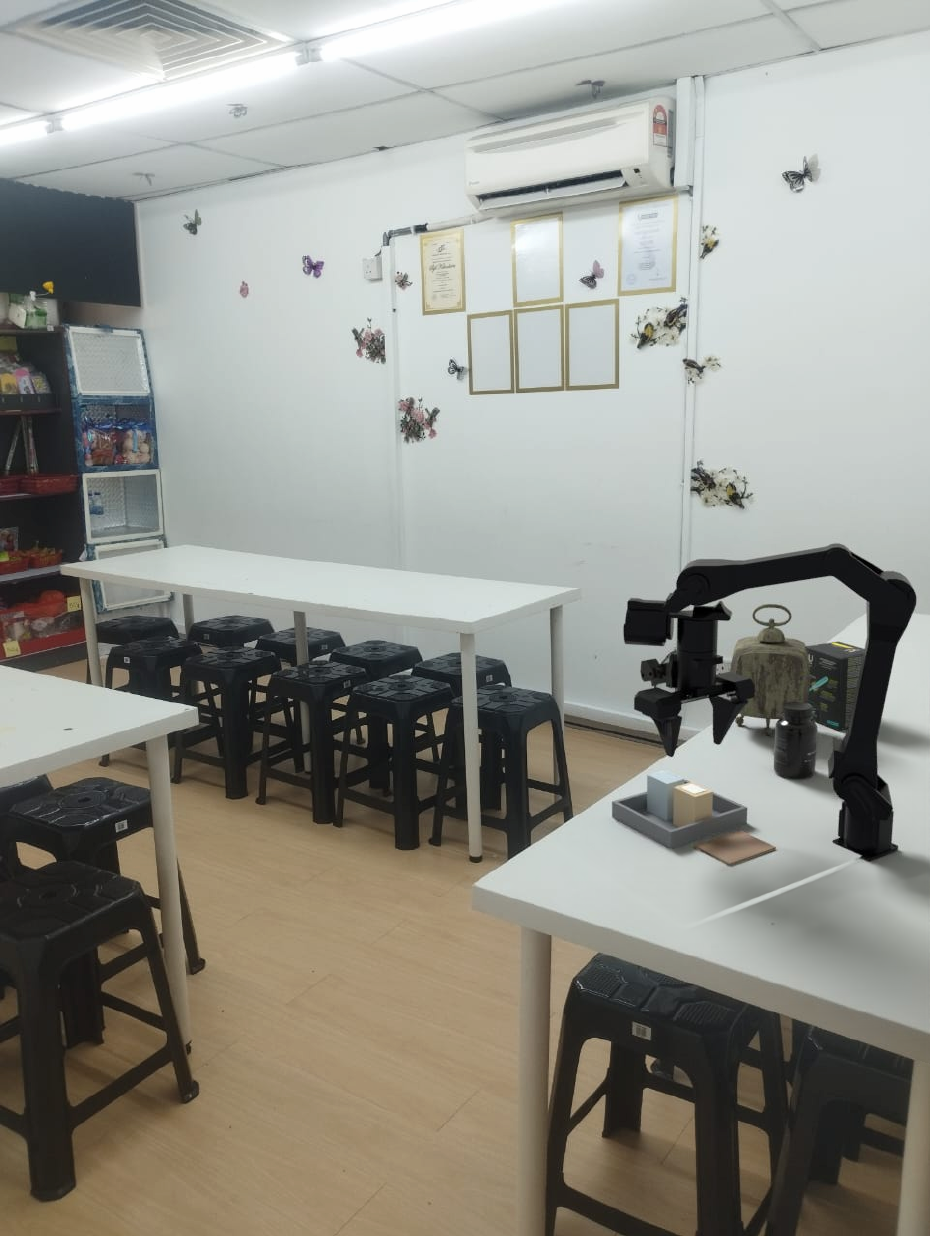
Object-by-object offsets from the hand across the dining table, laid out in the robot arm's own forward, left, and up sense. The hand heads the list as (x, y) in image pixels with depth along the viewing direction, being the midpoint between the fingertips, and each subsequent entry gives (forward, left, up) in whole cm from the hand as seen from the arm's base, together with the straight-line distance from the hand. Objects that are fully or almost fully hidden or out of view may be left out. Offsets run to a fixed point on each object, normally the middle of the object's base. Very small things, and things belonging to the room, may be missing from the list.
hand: (693, 749), depth 143 cm
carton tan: (0, 0, -12) cm, 12 cm away
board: (-9, 0, -13) cm, 15 cm away
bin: (+3, 0, -13) cm, 13 cm away
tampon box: (+21, -58, -13) cm, 63 cm away
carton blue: (+6, 0, -12) cm, 13 cm away
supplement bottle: (+7, -30, -13) cm, 33 cm away
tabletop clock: (+24, -42, -13) cm, 50 cm away
